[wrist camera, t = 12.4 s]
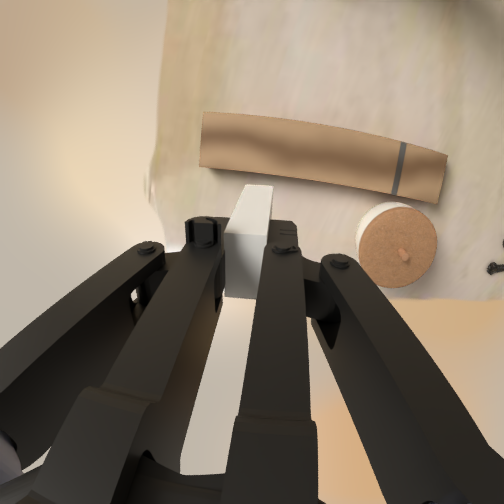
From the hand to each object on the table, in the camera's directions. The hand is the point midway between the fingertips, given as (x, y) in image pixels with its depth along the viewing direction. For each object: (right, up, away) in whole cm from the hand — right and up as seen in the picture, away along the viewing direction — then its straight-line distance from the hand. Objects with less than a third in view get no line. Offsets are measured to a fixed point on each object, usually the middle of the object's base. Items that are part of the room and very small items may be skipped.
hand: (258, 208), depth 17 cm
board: (+10, +11, +21) cm, 25 cm away
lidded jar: (+18, +1, +25) cm, 31 cm away
